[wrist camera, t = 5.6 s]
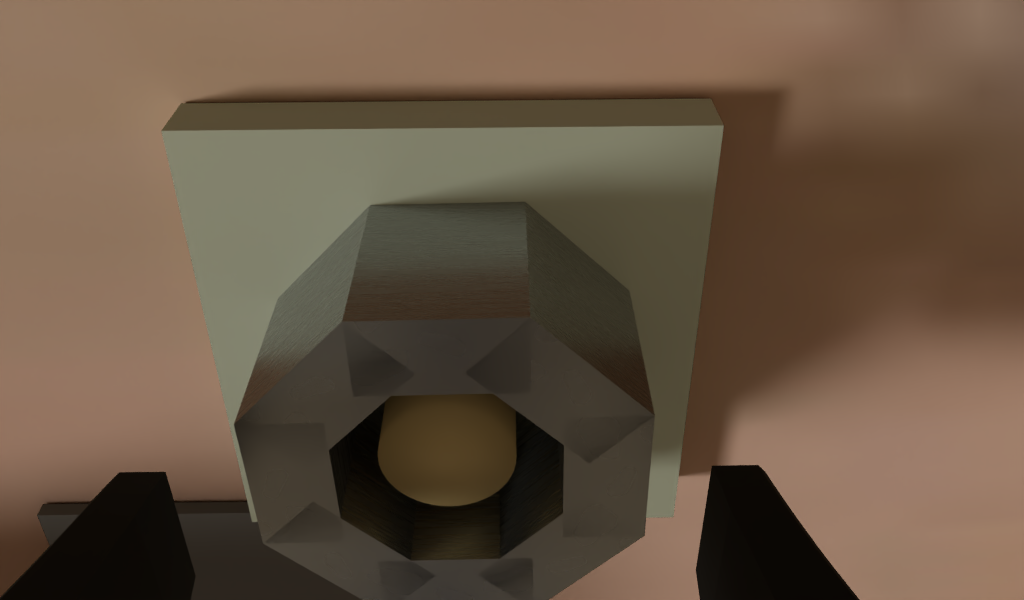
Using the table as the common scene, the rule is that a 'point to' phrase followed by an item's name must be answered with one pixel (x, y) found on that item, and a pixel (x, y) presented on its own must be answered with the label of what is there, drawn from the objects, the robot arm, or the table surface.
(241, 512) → the mat
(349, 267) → the ring
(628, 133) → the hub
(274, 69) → the table surface
